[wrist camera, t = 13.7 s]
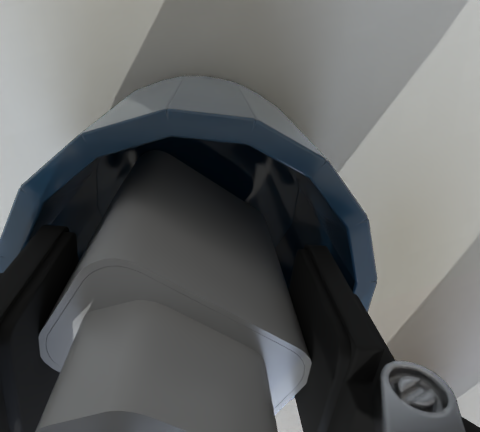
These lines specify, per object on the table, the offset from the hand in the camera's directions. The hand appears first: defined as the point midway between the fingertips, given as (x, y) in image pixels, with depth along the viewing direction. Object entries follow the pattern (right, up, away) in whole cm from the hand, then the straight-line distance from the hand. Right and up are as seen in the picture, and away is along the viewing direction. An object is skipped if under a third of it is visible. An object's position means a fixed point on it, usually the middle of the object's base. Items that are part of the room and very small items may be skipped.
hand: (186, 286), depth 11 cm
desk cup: (0, +3, +7) cm, 8 cm away
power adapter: (0, +2, +4) cm, 5 cm away
